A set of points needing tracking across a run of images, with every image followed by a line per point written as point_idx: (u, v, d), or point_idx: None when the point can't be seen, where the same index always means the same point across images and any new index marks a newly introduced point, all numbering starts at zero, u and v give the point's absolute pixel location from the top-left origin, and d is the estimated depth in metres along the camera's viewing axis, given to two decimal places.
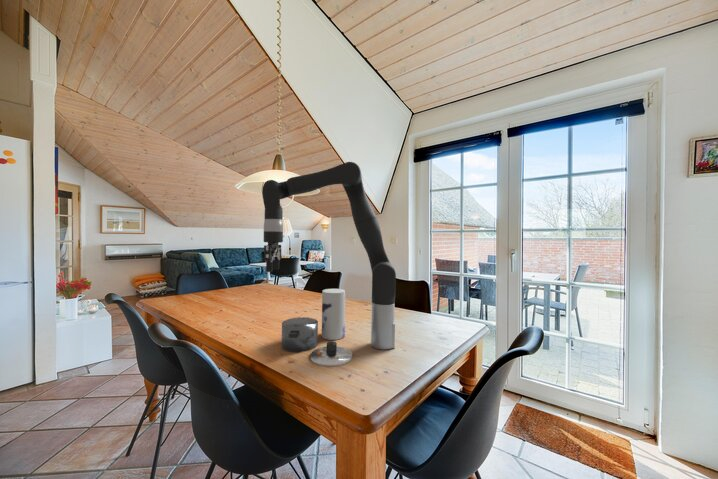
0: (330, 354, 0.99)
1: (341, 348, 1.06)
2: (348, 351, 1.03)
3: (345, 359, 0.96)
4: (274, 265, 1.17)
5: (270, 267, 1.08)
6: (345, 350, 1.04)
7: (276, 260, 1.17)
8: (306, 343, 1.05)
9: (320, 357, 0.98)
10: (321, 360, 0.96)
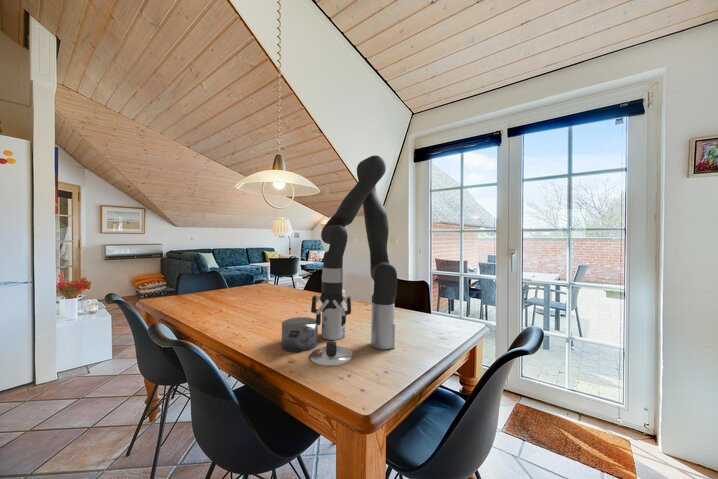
0: (330, 354, 0.99)
1: (341, 347, 1.06)
2: (348, 350, 1.04)
3: (345, 359, 0.97)
4: (319, 320, 1.00)
5: None
6: (345, 349, 1.04)
7: None
8: (306, 343, 1.05)
9: (321, 357, 0.98)
10: (321, 360, 0.95)
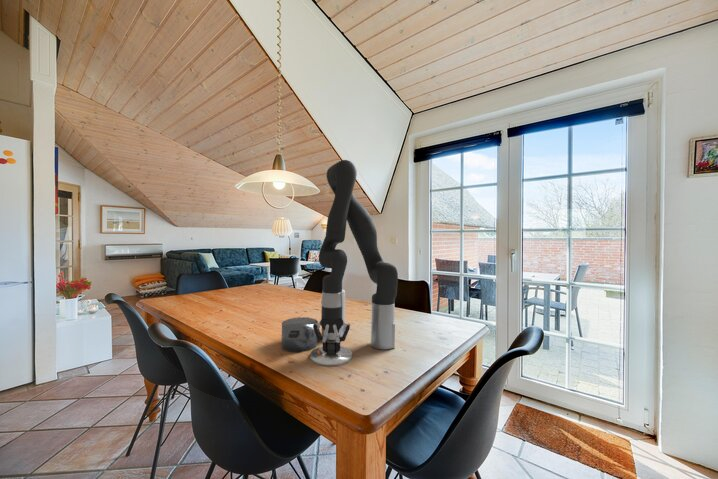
0: (330, 353, 0.99)
1: (340, 347, 1.06)
2: (348, 350, 1.04)
3: (346, 358, 0.97)
4: None
5: None
6: (344, 349, 1.05)
7: (326, 341, 1.01)
8: (306, 343, 1.05)
9: (321, 356, 0.98)
10: (322, 359, 0.95)
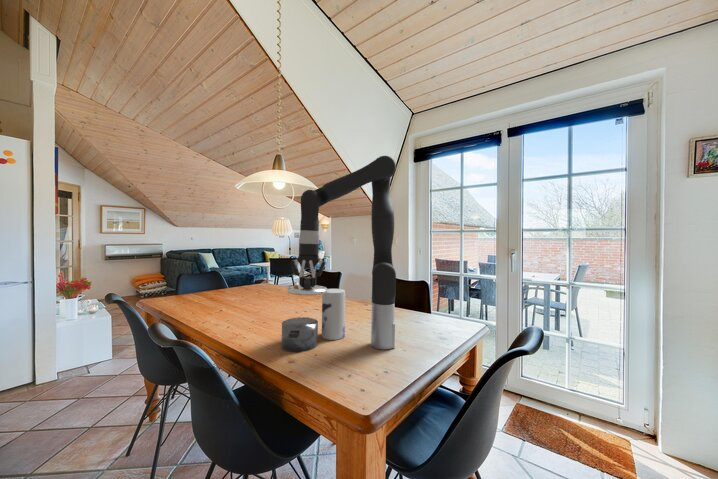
0: (306, 287, 1.06)
1: (317, 286, 1.14)
2: (323, 287, 1.11)
3: (320, 290, 1.04)
4: (302, 282, 1.07)
5: None
6: (320, 286, 1.12)
7: None
8: (306, 343, 1.05)
9: (297, 289, 1.05)
10: (297, 290, 1.03)
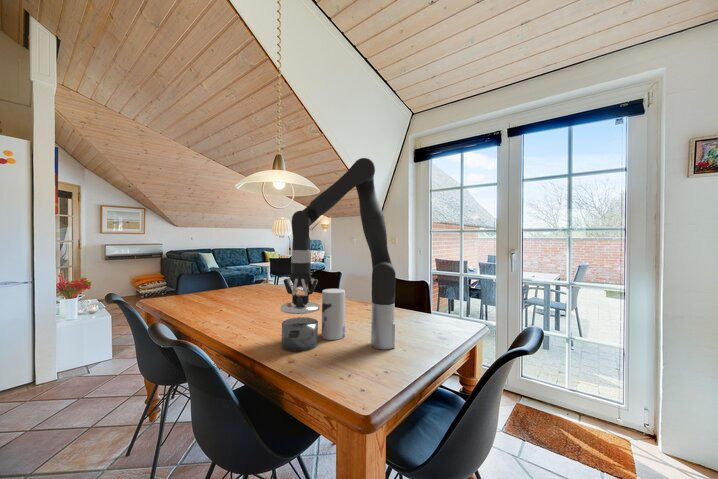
0: (299, 305, 1.09)
1: (310, 302, 1.17)
2: (316, 304, 1.14)
3: (312, 308, 1.07)
4: (295, 300, 1.10)
5: None
6: (313, 303, 1.15)
7: (295, 294, 1.11)
8: (306, 343, 1.05)
9: (290, 307, 1.08)
10: (290, 308, 1.06)
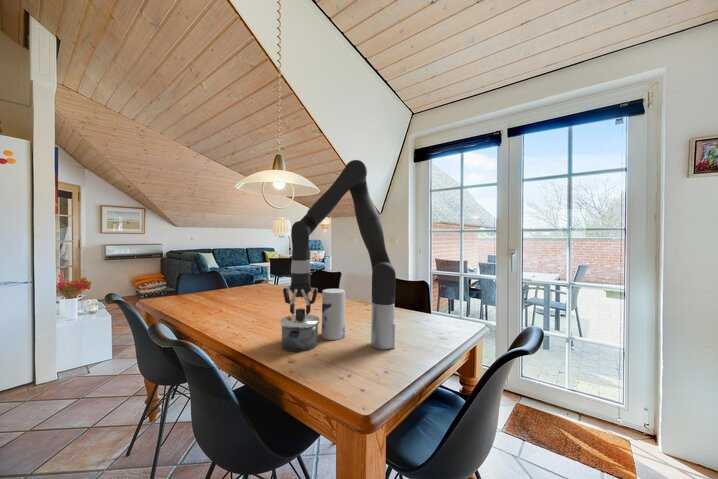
0: (299, 319, 1.09)
1: (310, 315, 1.17)
2: (316, 317, 1.14)
3: (312, 322, 1.07)
4: (293, 310, 1.10)
5: None
6: (313, 316, 1.15)
7: (293, 304, 1.11)
8: (306, 343, 1.05)
9: (290, 321, 1.08)
10: (290, 323, 1.06)
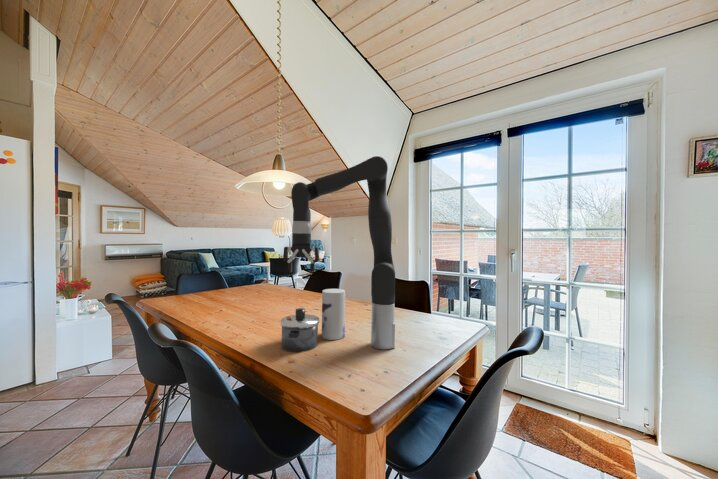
0: (299, 319, 1.09)
1: (310, 315, 1.17)
2: (316, 317, 1.14)
3: (312, 322, 1.07)
4: (291, 268, 1.13)
5: None
6: (313, 316, 1.15)
7: (291, 262, 1.14)
8: (306, 343, 1.05)
9: (290, 321, 1.08)
10: (290, 323, 1.06)
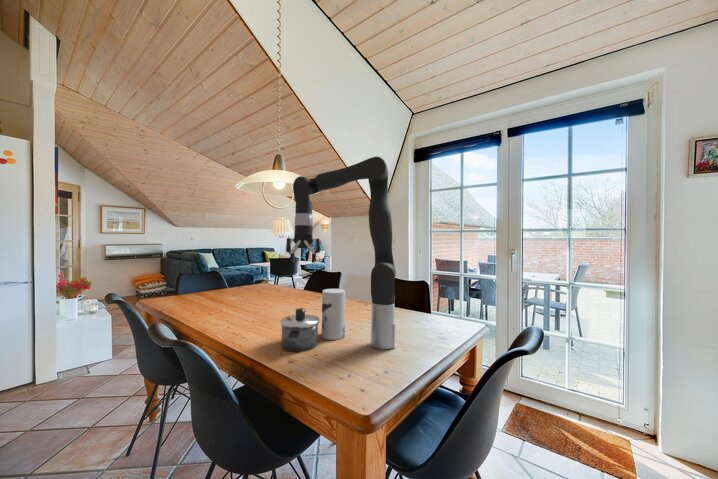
0: (299, 318, 1.09)
1: (310, 315, 1.17)
2: (316, 317, 1.14)
3: (312, 322, 1.07)
4: (293, 258, 1.18)
5: None
6: (313, 316, 1.15)
7: (293, 253, 1.19)
8: (306, 343, 1.05)
9: (290, 321, 1.08)
10: (290, 323, 1.06)
